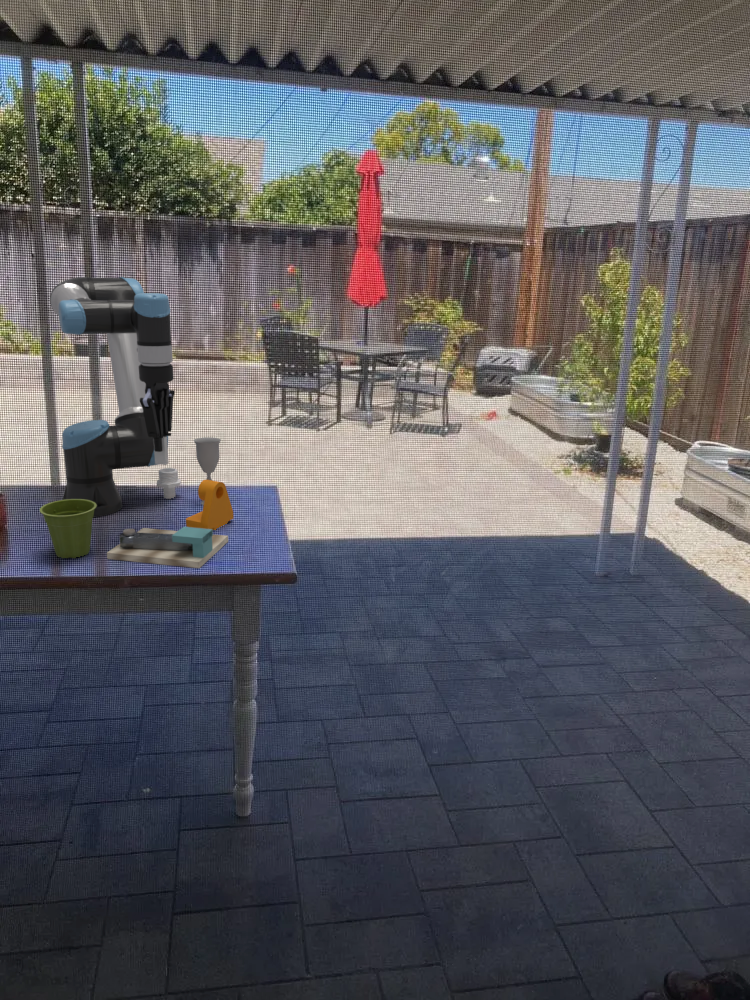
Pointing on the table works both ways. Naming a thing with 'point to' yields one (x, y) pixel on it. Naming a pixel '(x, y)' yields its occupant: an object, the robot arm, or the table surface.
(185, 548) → the link
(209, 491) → the bracket
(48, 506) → the plant pot
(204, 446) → the chalice
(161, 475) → the pipe fitting
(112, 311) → the robot arm
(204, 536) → the block
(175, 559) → the base board
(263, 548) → the table surface
